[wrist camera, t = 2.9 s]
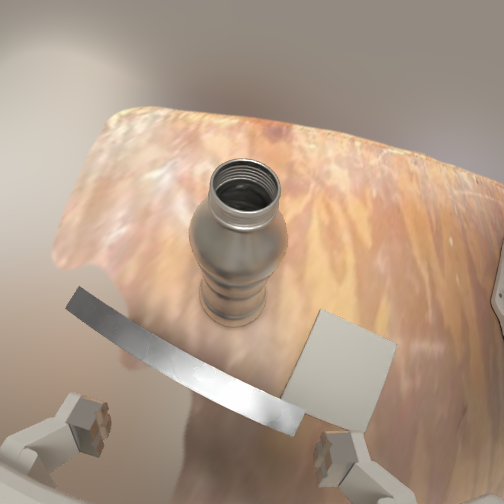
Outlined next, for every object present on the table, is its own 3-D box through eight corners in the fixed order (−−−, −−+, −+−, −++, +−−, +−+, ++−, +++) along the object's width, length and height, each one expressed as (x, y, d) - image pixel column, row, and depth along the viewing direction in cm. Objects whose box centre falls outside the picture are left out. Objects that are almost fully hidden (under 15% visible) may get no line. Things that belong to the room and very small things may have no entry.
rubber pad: (319, 310, 35) (321, 308, 34) (394, 344, 33) (397, 343, 33) (278, 402, 30) (279, 402, 29) (361, 434, 29) (363, 435, 28)
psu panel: (124, 322, 32) (81, 282, 21) (277, 403, 30) (308, 406, 19) (113, 339, 31) (65, 308, 20) (267, 423, 29) (293, 436, 18)
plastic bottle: (239, 344, 32) (264, 269, 14) (187, 305, 34) (154, 191, 16) (274, 296, 35) (331, 181, 17) (225, 261, 36) (232, 124, 18)
